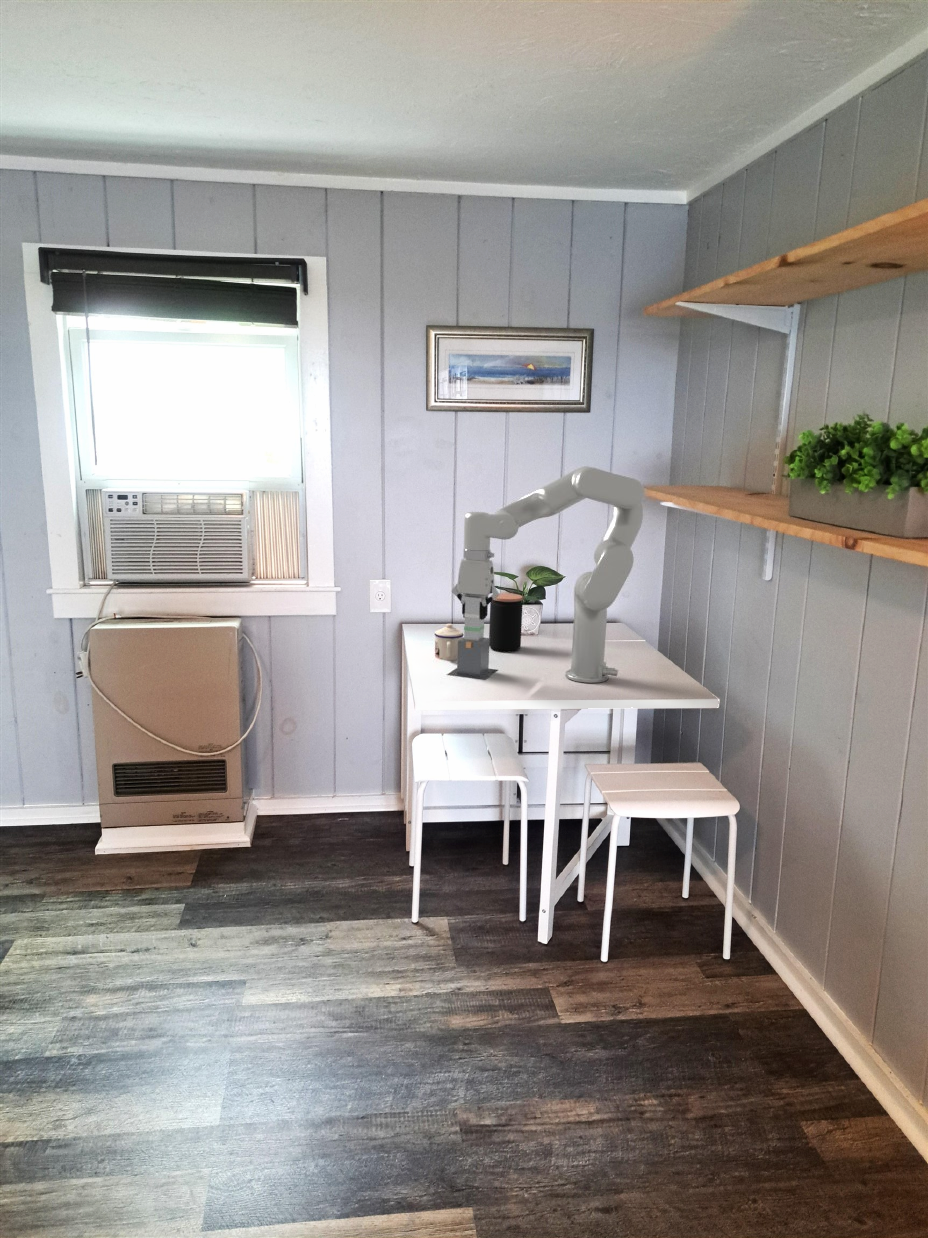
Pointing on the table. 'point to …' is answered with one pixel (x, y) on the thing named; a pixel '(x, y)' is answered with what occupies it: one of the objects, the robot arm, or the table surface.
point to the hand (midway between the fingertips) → (474, 617)
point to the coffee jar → (505, 622)
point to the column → (473, 618)
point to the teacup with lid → (447, 642)
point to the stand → (473, 660)
